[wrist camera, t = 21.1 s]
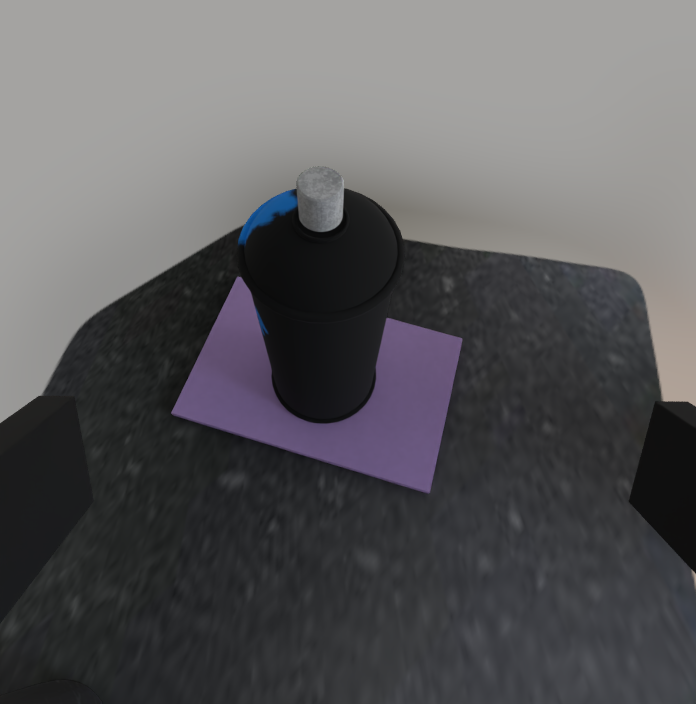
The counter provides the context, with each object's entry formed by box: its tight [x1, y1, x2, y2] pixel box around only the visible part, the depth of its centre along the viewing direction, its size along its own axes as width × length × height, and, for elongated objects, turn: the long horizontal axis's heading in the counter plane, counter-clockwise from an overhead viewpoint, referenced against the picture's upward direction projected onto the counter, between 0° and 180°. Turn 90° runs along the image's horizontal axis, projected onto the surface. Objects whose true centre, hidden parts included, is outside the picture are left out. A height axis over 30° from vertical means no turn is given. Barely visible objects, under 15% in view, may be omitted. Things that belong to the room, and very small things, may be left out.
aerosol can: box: [237, 166, 405, 424], centre depth 28 cm, size 8×8×20 cm
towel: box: [171, 277, 462, 494], centre depth 37 cm, size 20×13×1 cm, turn 73°
